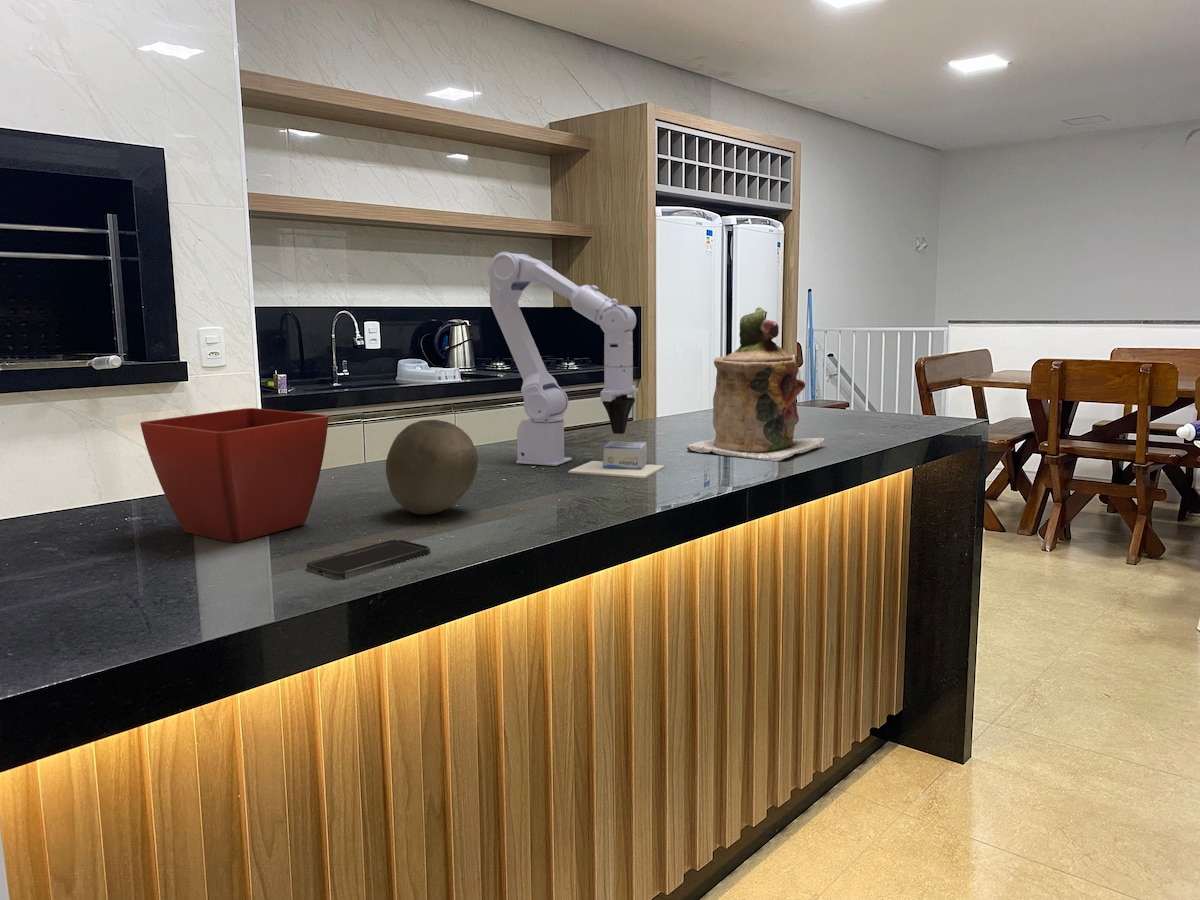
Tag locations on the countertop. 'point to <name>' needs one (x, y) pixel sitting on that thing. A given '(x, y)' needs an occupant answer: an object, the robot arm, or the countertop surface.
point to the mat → (616, 470)
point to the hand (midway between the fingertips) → (618, 433)
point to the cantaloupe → (430, 466)
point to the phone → (367, 559)
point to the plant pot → (238, 469)
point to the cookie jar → (756, 397)
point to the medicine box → (625, 454)
